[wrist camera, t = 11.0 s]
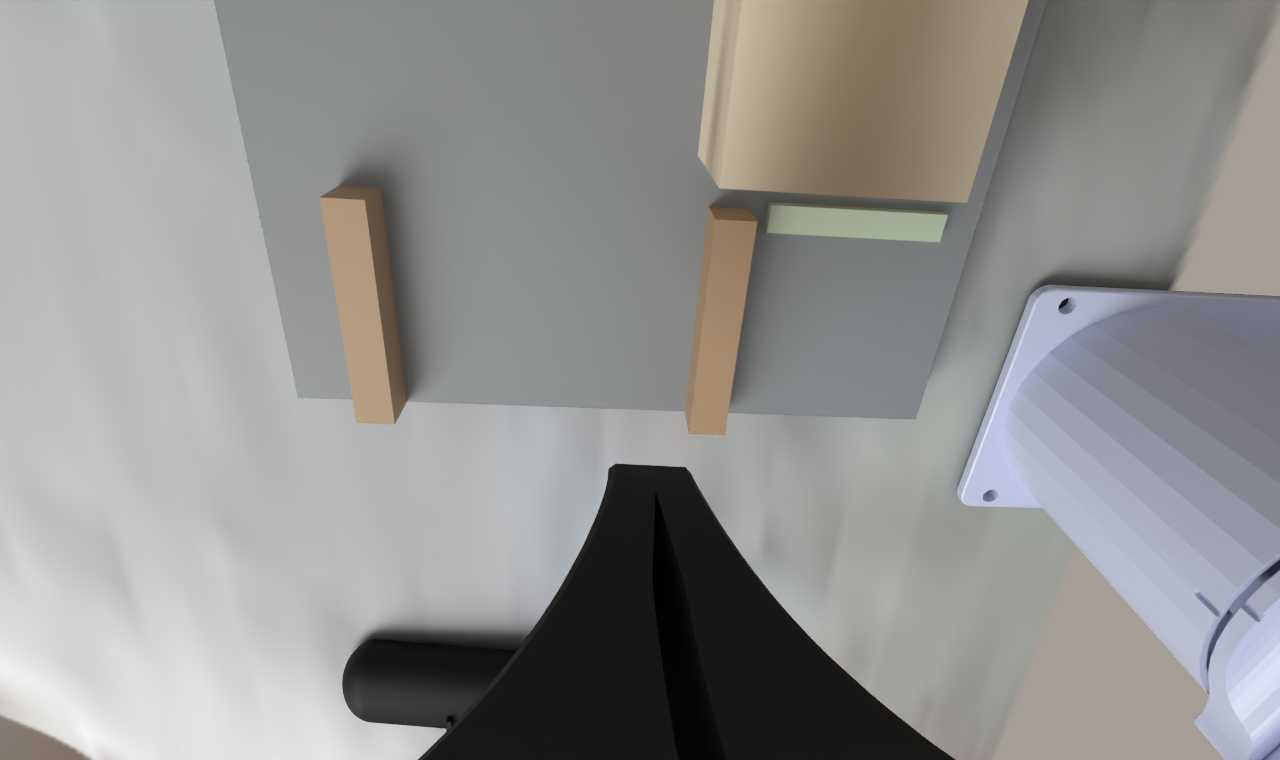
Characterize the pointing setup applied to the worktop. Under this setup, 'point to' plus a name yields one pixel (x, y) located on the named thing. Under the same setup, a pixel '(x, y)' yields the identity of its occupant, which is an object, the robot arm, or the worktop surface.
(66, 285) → the worktop surface
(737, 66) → the birch block
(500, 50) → the slate board
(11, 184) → the worktop surface
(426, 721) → the door handle
